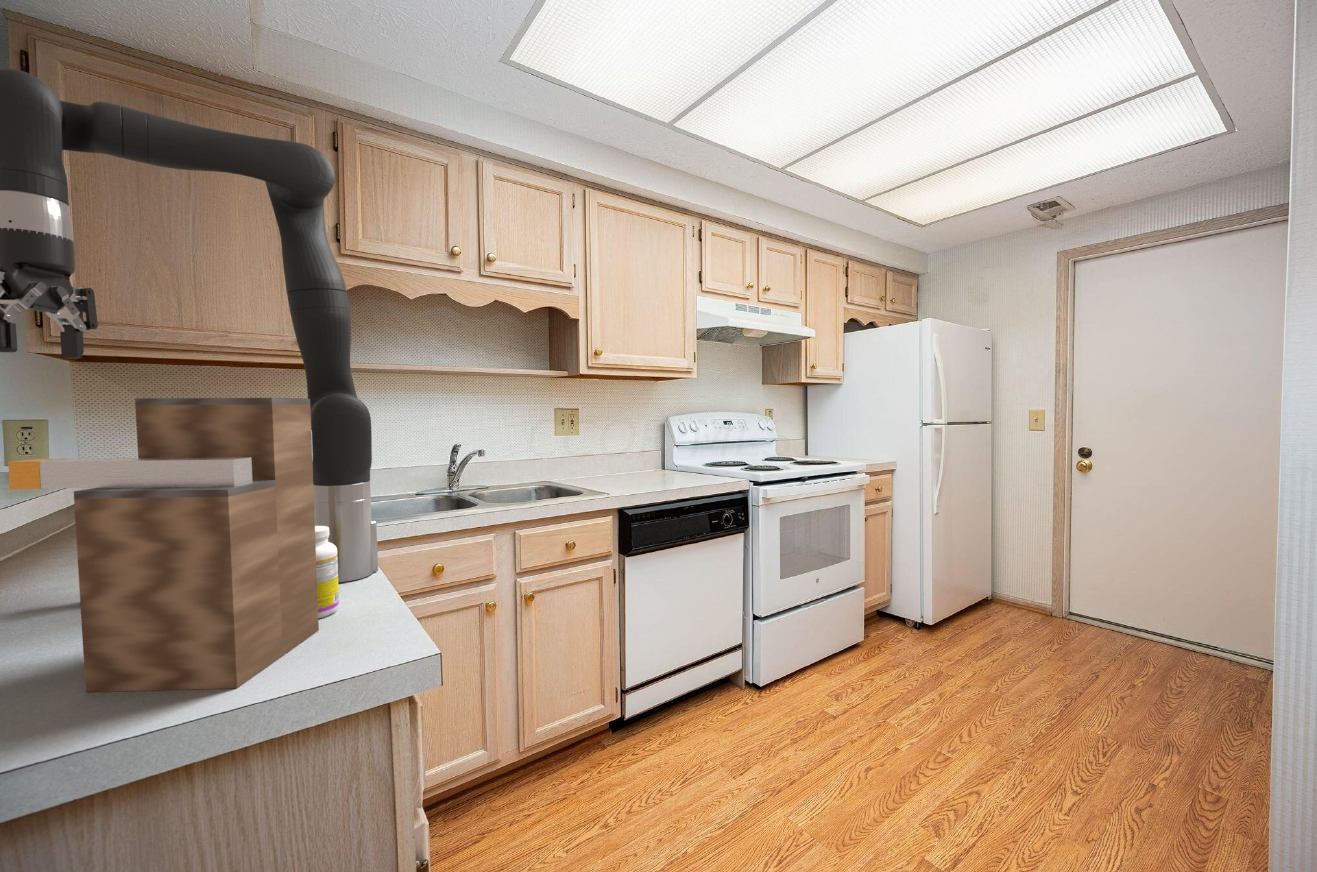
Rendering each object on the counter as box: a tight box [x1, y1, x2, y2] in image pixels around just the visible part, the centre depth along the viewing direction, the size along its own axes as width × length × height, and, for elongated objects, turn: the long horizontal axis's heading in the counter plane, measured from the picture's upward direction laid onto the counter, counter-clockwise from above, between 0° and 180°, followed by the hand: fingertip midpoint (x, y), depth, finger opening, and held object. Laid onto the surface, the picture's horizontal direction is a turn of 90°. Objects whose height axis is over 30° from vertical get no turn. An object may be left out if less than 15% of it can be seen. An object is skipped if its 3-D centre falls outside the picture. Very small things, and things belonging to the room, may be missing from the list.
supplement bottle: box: [315, 526, 340, 620], centre depth 84 cm, size 7×7×13 cm
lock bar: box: [7, 457, 253, 490], centre depth 64 cm, size 24×3×3 cm, turn 92°
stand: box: [73, 397, 320, 693], centre depth 69 cm, size 16×16×32 cm
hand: (40, 355), depth 77 cm, fingers open, 8 cm apart
